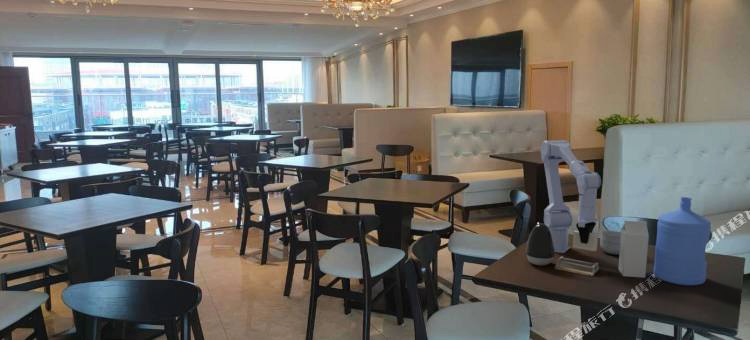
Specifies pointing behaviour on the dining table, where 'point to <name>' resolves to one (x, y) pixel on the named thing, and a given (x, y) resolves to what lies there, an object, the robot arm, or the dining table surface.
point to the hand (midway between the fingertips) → (585, 242)
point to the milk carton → (633, 249)
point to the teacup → (610, 241)
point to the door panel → (590, 245)
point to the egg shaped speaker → (540, 245)
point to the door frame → (576, 266)
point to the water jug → (681, 246)
